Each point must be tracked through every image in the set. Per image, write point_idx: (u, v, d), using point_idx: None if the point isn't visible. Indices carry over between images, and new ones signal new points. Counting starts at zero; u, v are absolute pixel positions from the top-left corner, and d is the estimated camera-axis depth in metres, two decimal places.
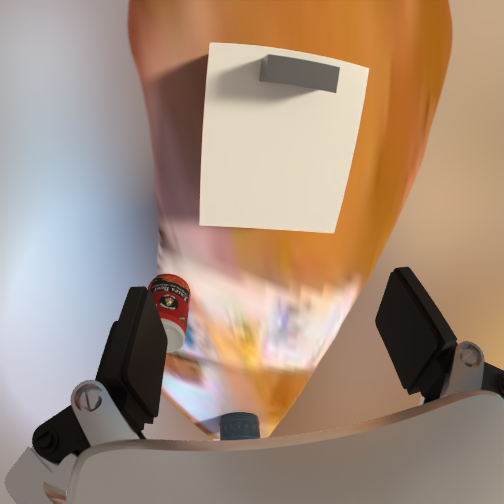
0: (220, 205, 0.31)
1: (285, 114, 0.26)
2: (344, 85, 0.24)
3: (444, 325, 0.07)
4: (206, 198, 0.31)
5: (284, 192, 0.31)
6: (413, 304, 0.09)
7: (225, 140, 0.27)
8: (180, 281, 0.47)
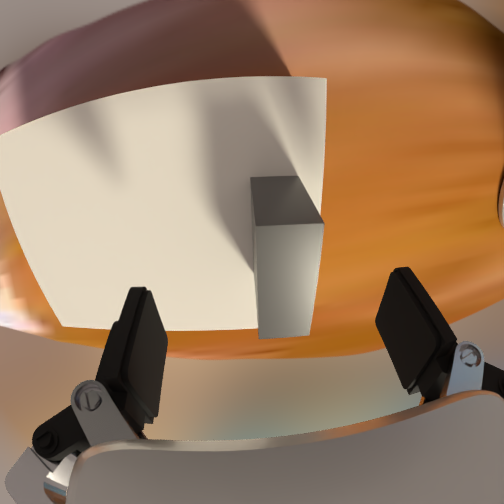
0: (19, 164, 0.12)
1: (194, 232, 0.16)
2: None
3: (444, 325, 0.07)
4: (22, 137, 0.11)
5: (73, 256, 0.16)
6: (413, 304, 0.09)
7: (118, 139, 0.12)
8: None
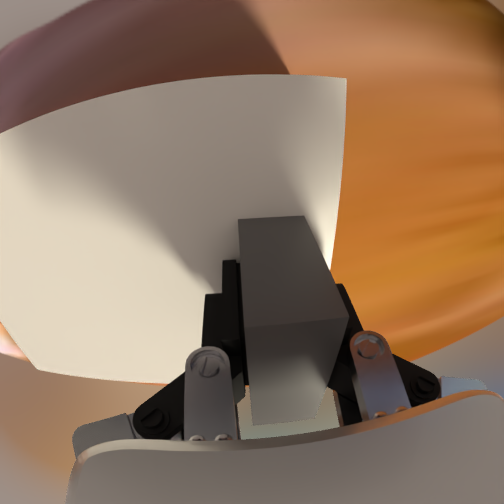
0: None
1: (168, 287, 0.12)
2: None
3: None
4: None
5: (33, 306, 0.12)
6: None
7: (61, 171, 0.09)
8: None
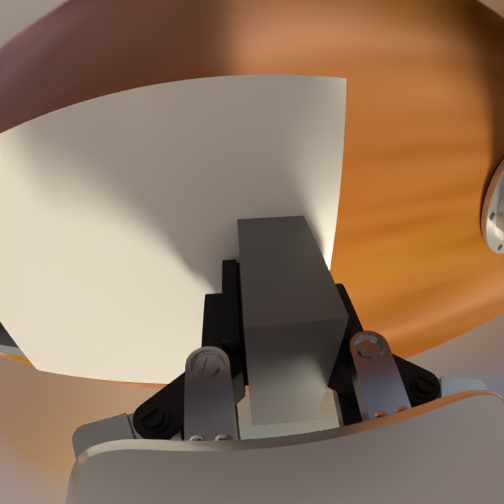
0: None
1: (168, 287, 0.12)
2: None
3: None
4: None
5: (33, 306, 0.12)
6: None
7: (61, 171, 0.09)
8: None
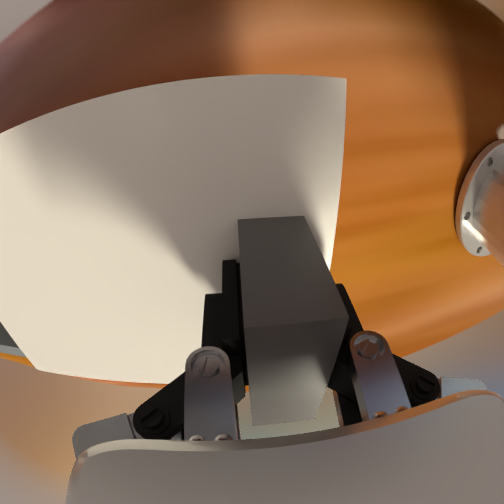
0: None
1: (168, 287, 0.12)
2: None
3: None
4: None
5: (33, 306, 0.12)
6: None
7: (61, 171, 0.09)
8: None
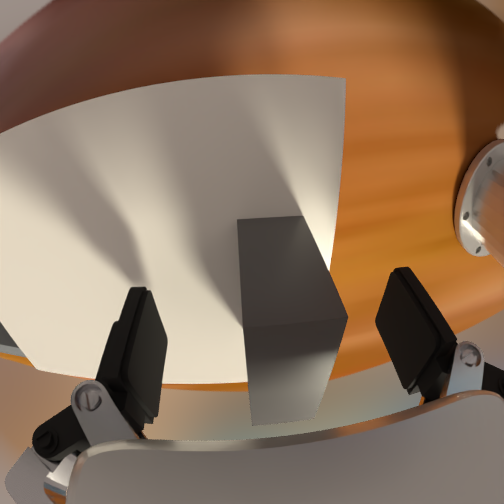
0: None
1: (167, 287, 0.12)
2: None
3: (444, 325, 0.07)
4: None
5: (33, 306, 0.12)
6: (413, 304, 0.09)
7: (61, 171, 0.09)
8: None
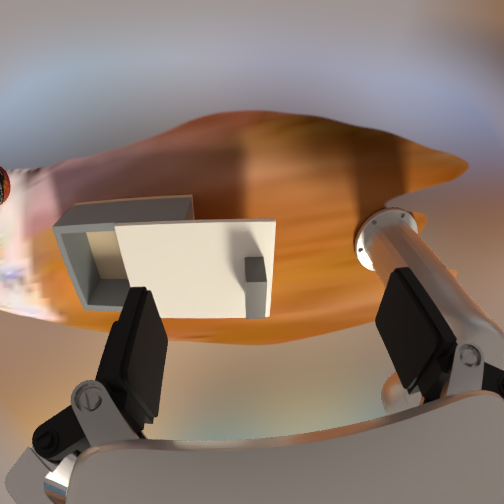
0: (136, 241, 0.34)
1: (220, 276, 0.38)
2: None
3: (444, 325, 0.07)
4: (139, 230, 0.34)
5: (160, 283, 0.38)
6: (413, 304, 0.09)
7: (192, 240, 0.35)
8: (7, 194, 0.36)
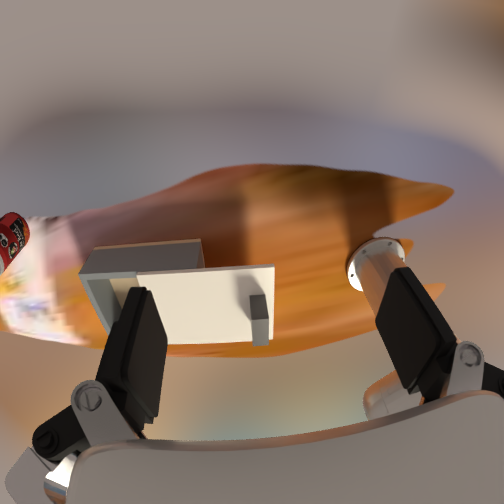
0: (156, 286, 0.41)
1: (230, 310, 0.45)
2: None
3: (444, 325, 0.07)
4: (158, 278, 0.40)
5: (178, 317, 0.45)
6: (413, 304, 0.09)
7: (204, 284, 0.41)
8: (27, 239, 0.43)
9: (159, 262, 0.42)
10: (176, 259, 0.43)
